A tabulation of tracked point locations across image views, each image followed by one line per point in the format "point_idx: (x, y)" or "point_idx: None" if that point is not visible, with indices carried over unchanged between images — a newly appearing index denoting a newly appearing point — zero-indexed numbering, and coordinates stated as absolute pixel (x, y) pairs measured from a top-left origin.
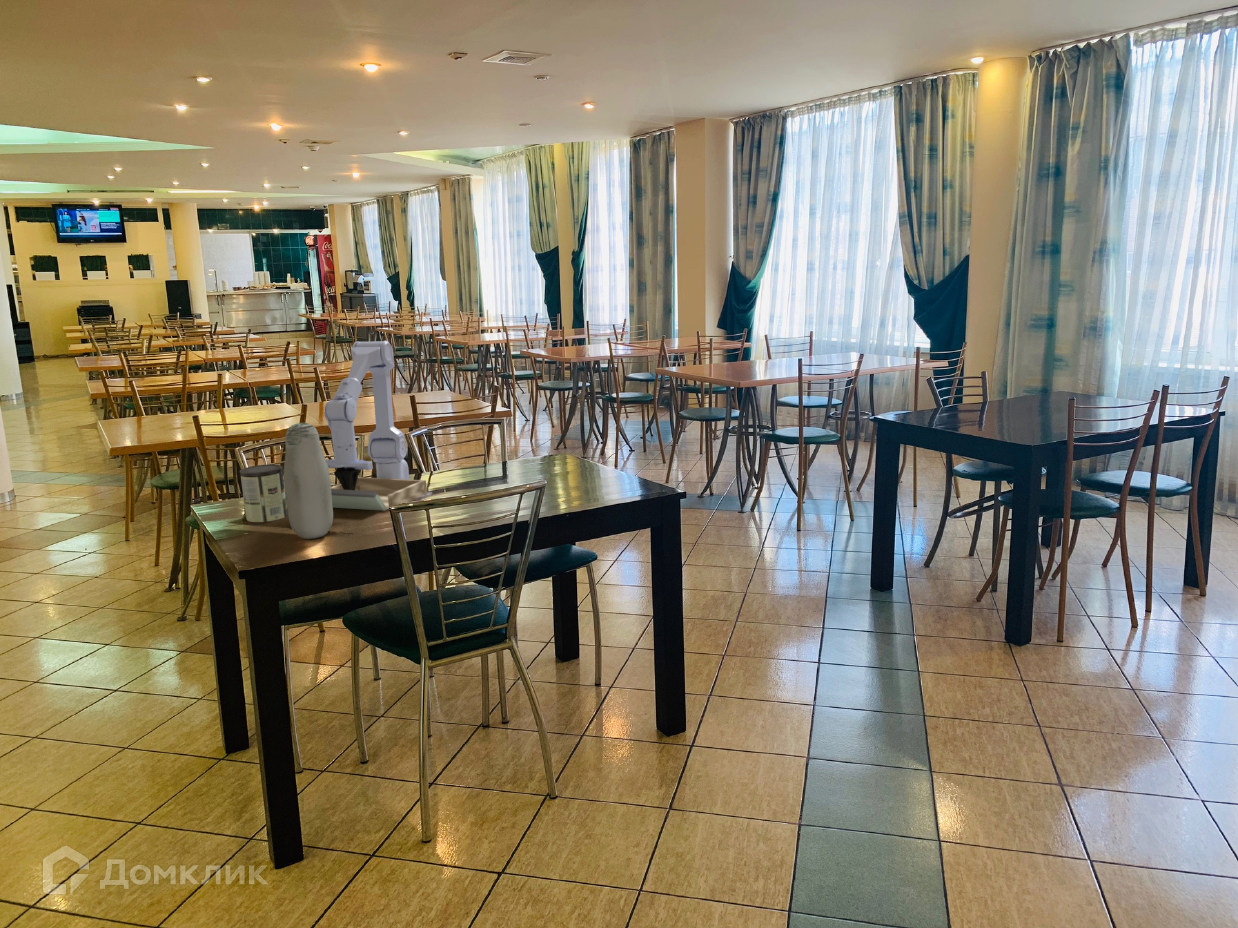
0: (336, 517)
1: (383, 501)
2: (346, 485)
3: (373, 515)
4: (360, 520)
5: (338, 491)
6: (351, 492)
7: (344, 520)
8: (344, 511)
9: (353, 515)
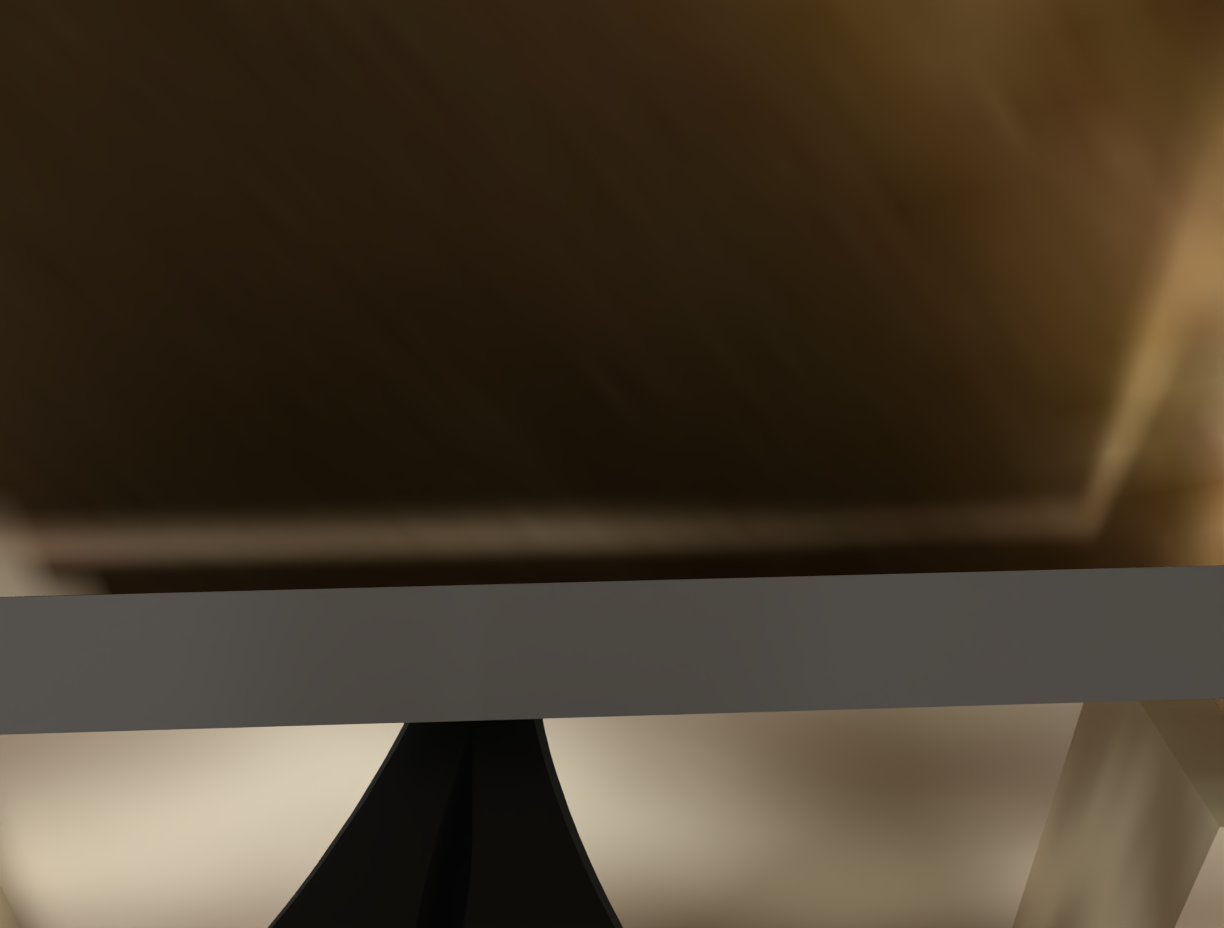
0: (620, 266)
1: None
2: (416, 854)
3: (83, 500)
4: (24, 196)
5: (598, 644)
6: (175, 645)
7: (324, 124)
8: (713, 575)
9: (408, 432)
